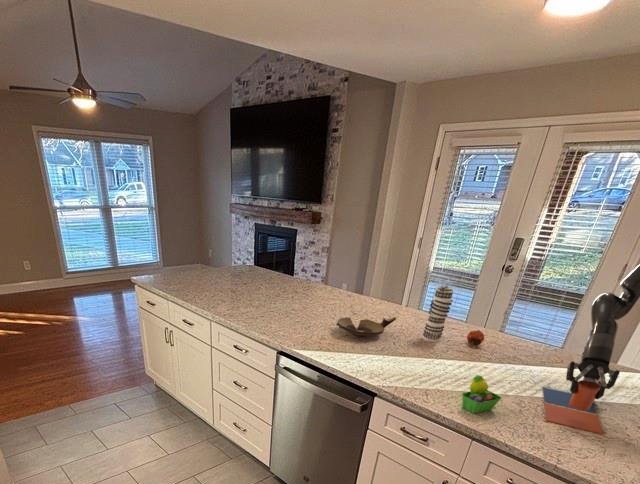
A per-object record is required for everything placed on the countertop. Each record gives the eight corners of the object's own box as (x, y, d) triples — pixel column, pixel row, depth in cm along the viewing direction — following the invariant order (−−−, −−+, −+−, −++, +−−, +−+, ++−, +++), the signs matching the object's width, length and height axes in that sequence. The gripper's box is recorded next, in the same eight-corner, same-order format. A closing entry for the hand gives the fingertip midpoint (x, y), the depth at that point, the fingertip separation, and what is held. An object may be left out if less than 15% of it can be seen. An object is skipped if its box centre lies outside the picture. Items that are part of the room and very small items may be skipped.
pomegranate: (479, 352, 197) (488, 336, 198) (477, 342, 191) (487, 326, 193) (463, 349, 201) (473, 333, 203) (461, 339, 196) (471, 323, 198)
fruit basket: (473, 416, 141) (485, 386, 134) (454, 404, 147) (463, 375, 141) (497, 410, 145) (509, 381, 138) (477, 399, 151) (487, 371, 145)
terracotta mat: (596, 416, 144) (597, 415, 144) (602, 434, 134) (603, 433, 134) (544, 403, 150) (544, 403, 150) (546, 421, 140) (546, 420, 140)
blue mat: (590, 398, 155) (591, 397, 155) (596, 414, 145) (596, 413, 145) (542, 388, 161) (542, 387, 161) (544, 402, 151) (544, 401, 151)
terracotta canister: (588, 403, 140) (599, 382, 136) (591, 412, 136) (602, 390, 131) (567, 399, 143) (577, 378, 138) (568, 407, 138) (579, 386, 134)
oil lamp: (333, 324, 216) (335, 310, 212) (391, 328, 214) (394, 314, 210) (335, 339, 197) (338, 324, 193) (399, 344, 195) (403, 328, 191)
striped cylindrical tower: (444, 341, 201) (460, 289, 187) (427, 342, 199) (442, 289, 186) (435, 335, 208) (449, 284, 195) (418, 335, 207) (431, 284, 193)
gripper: (577, 340, 137) (564, 386, 135) (630, 349, 132) (617, 397, 129) (568, 350, 144) (556, 393, 142) (618, 359, 139) (606, 405, 136)
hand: (585, 395), depth 136 cm, fingers closed on terracotta canister, 6 cm apart
